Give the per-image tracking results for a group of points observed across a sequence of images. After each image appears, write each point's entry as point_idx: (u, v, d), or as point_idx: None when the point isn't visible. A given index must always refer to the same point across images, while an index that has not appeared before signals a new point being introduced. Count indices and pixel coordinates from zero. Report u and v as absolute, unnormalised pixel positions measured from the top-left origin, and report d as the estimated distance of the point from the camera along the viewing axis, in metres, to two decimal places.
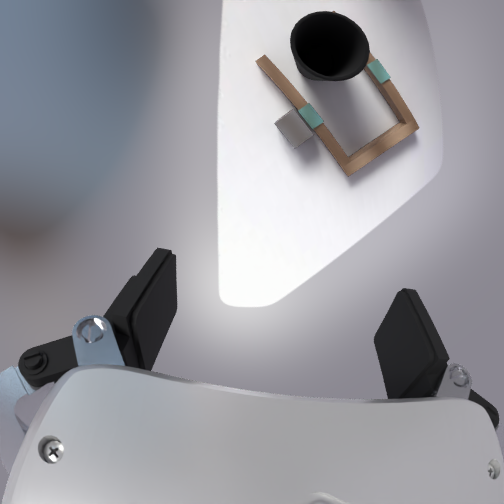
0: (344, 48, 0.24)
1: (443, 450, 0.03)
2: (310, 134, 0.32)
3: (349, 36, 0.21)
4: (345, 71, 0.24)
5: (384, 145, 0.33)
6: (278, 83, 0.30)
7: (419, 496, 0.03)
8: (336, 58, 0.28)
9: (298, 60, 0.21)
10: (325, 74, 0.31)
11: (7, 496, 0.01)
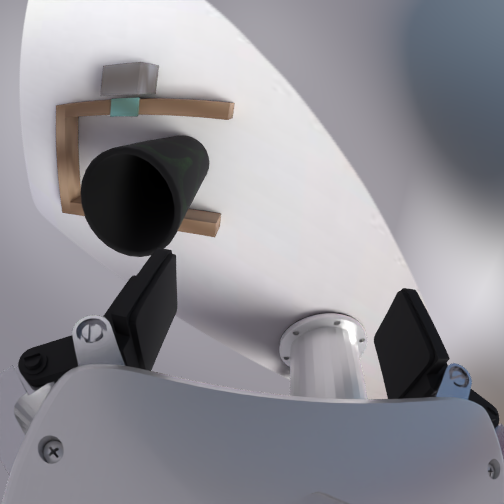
0: (152, 207, 0.23)
1: (443, 450, 0.03)
2: (103, 92, 0.20)
3: (143, 230, 0.21)
4: (115, 187, 0.20)
5: (61, 163, 0.25)
6: (182, 102, 0.21)
7: (419, 496, 0.03)
8: (165, 186, 0.27)
9: (130, 150, 0.15)
10: None
11: (7, 496, 0.01)
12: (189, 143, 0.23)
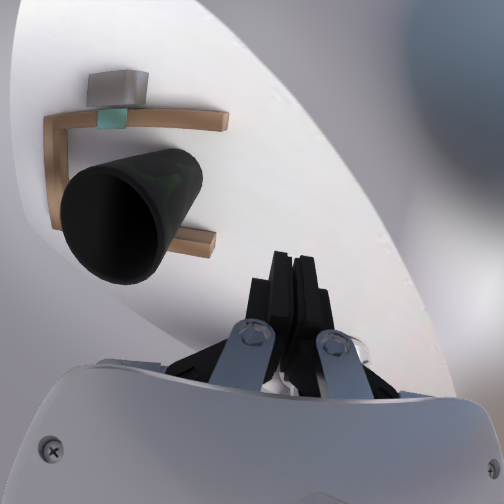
0: (140, 228, 0.22)
1: (443, 450, 0.03)
2: (89, 103, 0.18)
3: (129, 254, 0.19)
4: (100, 207, 0.18)
5: (49, 178, 0.23)
6: (172, 113, 0.20)
7: (419, 496, 0.03)
8: None
9: (107, 170, 0.13)
10: None
11: (6, 495, 0.01)
12: (179, 158, 0.21)
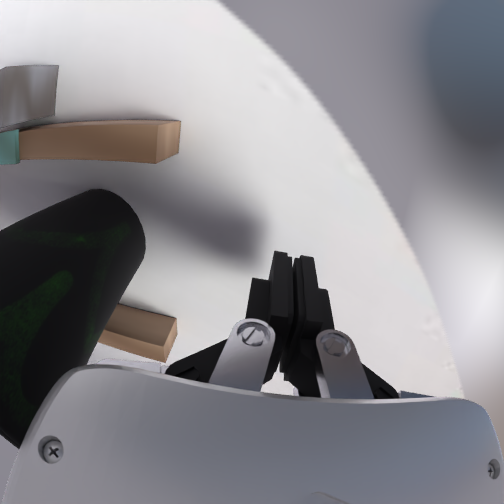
0: None
1: (443, 450, 0.03)
2: None
3: None
4: None
5: None
6: (74, 131, 0.09)
7: (419, 496, 0.03)
8: None
9: None
10: None
11: (6, 495, 0.01)
12: (88, 217, 0.10)
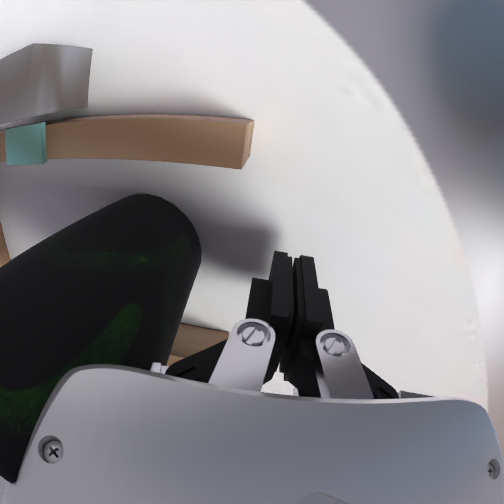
0: None
1: (443, 450, 0.03)
2: None
3: None
4: None
5: None
6: (127, 125, 0.08)
7: (419, 496, 0.03)
8: None
9: None
10: None
11: (7, 496, 0.01)
12: (145, 231, 0.09)
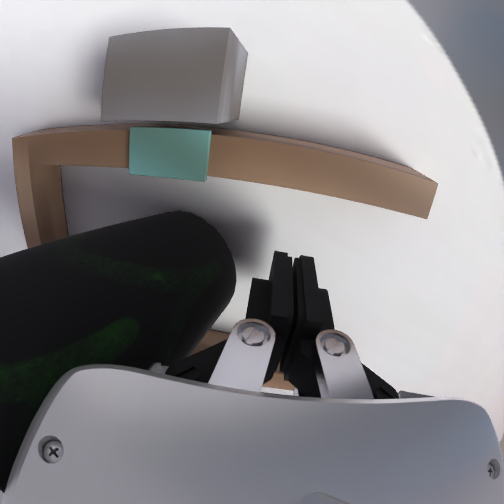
0: None
1: (443, 450, 0.03)
2: (108, 111, 0.07)
3: None
4: None
5: None
6: (336, 161, 0.09)
7: (419, 496, 0.03)
8: None
9: None
10: None
11: (7, 496, 0.01)
12: (171, 248, 0.09)
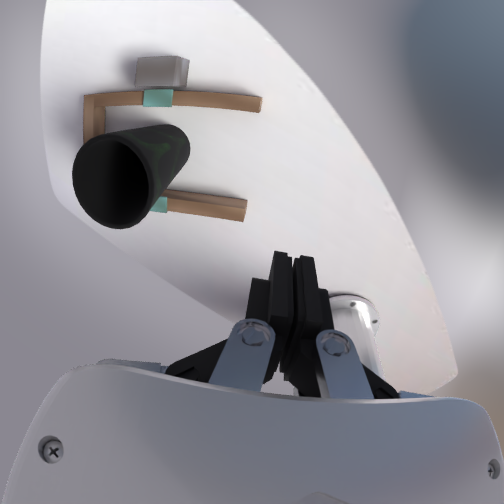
0: (136, 188, 0.25)
1: (443, 450, 0.03)
2: (137, 83, 0.21)
3: (126, 207, 0.23)
4: (103, 169, 0.22)
5: None
6: (216, 95, 0.23)
7: (419, 496, 0.03)
8: None
9: (113, 136, 0.17)
10: None
11: (7, 496, 0.01)
12: (170, 131, 0.24)
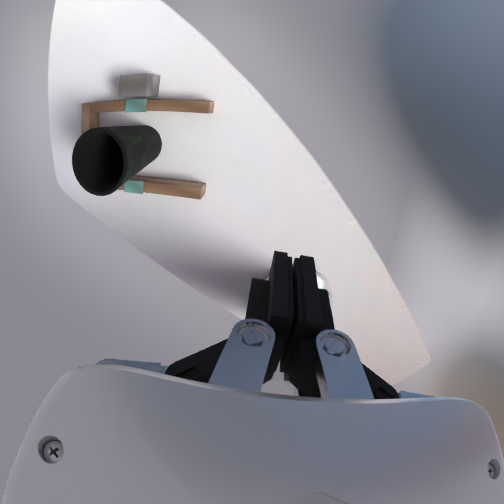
0: (118, 171, 0.32)
1: (443, 450, 0.03)
2: (120, 94, 0.29)
3: (109, 182, 0.29)
4: (95, 156, 0.29)
5: None
6: (177, 102, 0.30)
7: (419, 496, 0.03)
8: None
9: (101, 129, 0.24)
10: None
11: (7, 496, 0.01)
12: (145, 129, 0.32)
